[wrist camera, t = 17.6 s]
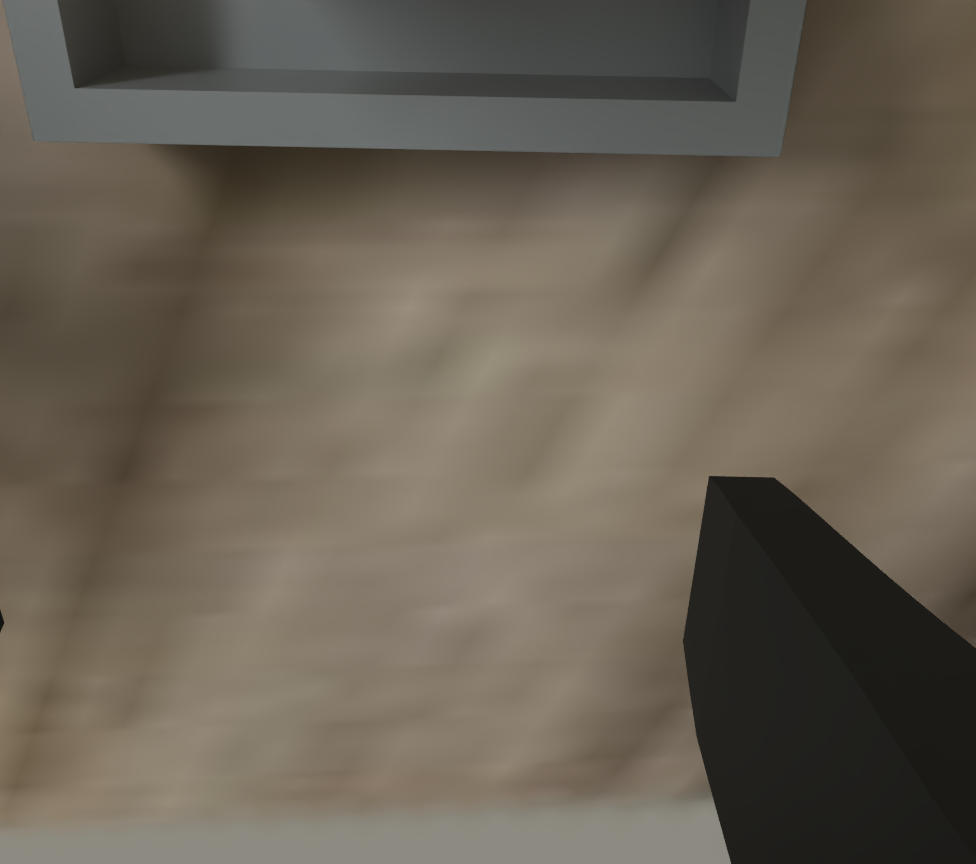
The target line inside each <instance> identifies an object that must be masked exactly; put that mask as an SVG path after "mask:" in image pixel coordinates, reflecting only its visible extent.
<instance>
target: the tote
mask: <svg viewBox="0 0 976 864" xmlns="http://www.w3.org/2000/svg"><path fill="white" fill-rule="evenodd" d="M806 2H807V0H3V4H4V9H5V13H6V18H7V22H8V27H9V31H10V36H11V40H12V45H13V50H14V54H15V59H16V63H17V68H18V72H19V77H20V81H21V86H22V91H23V95H24V100H25V104H26V109H27V113H28V118H29V122H30V127H31V132H32V136H33V141H46V142H93V143H140V144H187V145H234V146H281V147H327V148H374V149H421V150H468V151H515V152H562V153H609V154H655V155H702V156H749V157H780V156H781V150H782V144H783V138H784V132H785V126H786V120H787V114H788V108H789V102H790V97H791V91H792V85H793V79H794V73H795V67H796V61H797V55H798V49H799V43H800V37H801V31H802V25H803V19H804V13H805V8H806Z"/></svg>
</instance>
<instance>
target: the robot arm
mask: <svg viewBox="0 0 976 864" xmlns="http://www.w3.org/2000/svg"><path fill="white" fill-rule="evenodd" d="M3 625H4V620H3V617H2V614H1V611H0V631H1V629H2V627H3ZM683 644H684V652H685V659H686V666H687V674H688V681H689V689H690V696H691V702H692V709H693V715H694V722H695V728H696V735H697V739H698V743H699V747H700V750H701V754H702V758H703V762H704V766H705V769H706V773H707V777H708V780H709V784H710V788H711V792H712V795H713V799H714V803H715V806H716V810H717V814H718V817H719V821H720V825H721V828H722V831H723V835H724V839H725V843H726V846H727V850H728V853H729V857H730V861H731V864H976V648H975V647H973V646H972V645H971V644H970V643H968V642H967V641H966V640H965V639H963V638H962V637H961V636H960V635H958V634H957V633H956V632H955V631H953V630H952V629H951V628H950V627H948V626H947V625H946V624H945V623H943V622H942V621H941V620H940V619H938V618H937V617H936V616H935V615H933V614H932V613H931V612H930V611H929V610H927V609H926V608H925V607H924V606H923V605H921V604H920V603H919V602H918V601H916V600H915V599H914V598H913V597H912V596H911V595H909V594H908V593H907V592H906V591H905V590H903V589H902V588H901V587H900V586H899V585H898V584H896V583H895V582H894V581H893V580H892V579H890V578H889V577H888V576H887V575H886V574H885V573H884V572H882V571H881V570H880V569H879V568H878V567H877V566H875V565H874V564H873V563H872V562H871V561H870V560H869V559H867V558H866V557H865V556H864V555H863V554H862V553H861V552H859V551H858V550H857V549H856V548H855V547H854V546H853V545H851V544H850V543H849V542H848V541H847V540H846V539H845V538H844V537H842V536H841V535H840V534H839V533H838V532H837V531H836V530H834V529H833V528H832V527H831V526H830V525H829V524H828V523H827V522H825V521H824V520H823V519H822V518H821V517H820V516H819V515H818V514H816V513H815V512H814V511H813V510H812V509H811V508H810V507H809V506H807V505H806V504H805V503H804V502H803V501H802V500H801V499H799V498H798V497H797V496H796V495H795V494H794V493H792V492H791V491H790V490H789V489H788V488H786V487H785V486H784V485H783V484H781V483H780V482H779V481H778V480H776V479H775V478H764V477H724V476H709V480H708V486H707V493H706V499H705V505H704V512H703V518H702V524H701V531H700V537H699V543H698V550H697V556H696V563H695V569H694V575H693V582H692V588H691V594H690V601H689V607H688V613H687V620H686V626H685V632H684V639H683Z"/></svg>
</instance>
